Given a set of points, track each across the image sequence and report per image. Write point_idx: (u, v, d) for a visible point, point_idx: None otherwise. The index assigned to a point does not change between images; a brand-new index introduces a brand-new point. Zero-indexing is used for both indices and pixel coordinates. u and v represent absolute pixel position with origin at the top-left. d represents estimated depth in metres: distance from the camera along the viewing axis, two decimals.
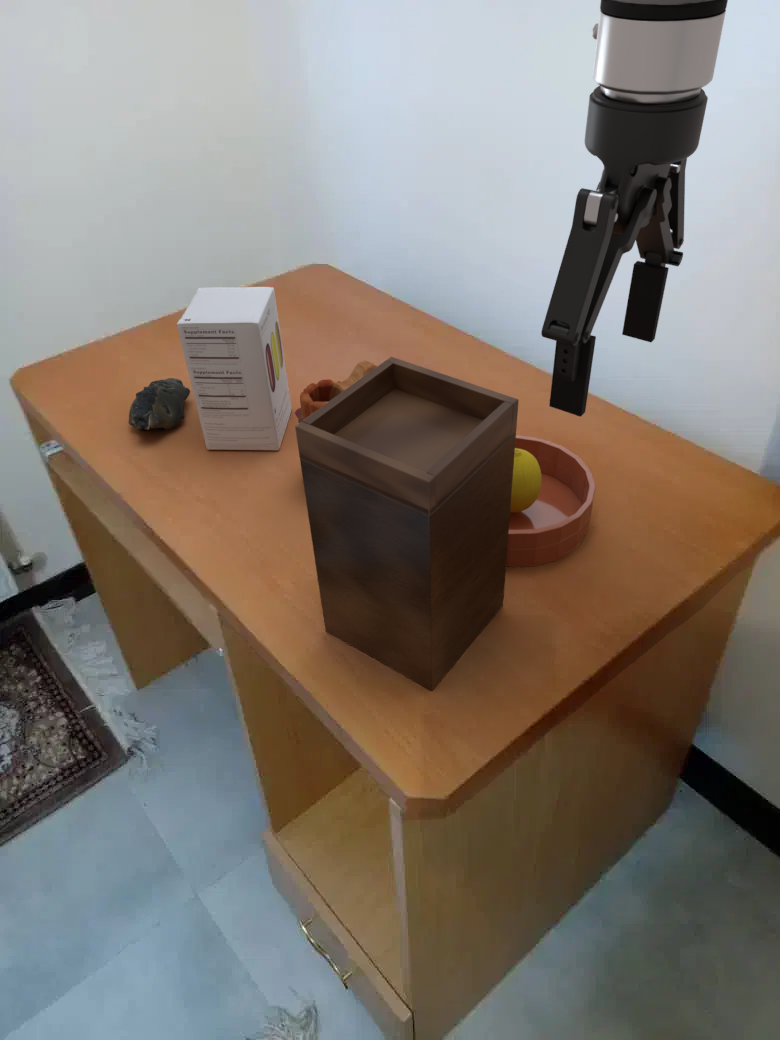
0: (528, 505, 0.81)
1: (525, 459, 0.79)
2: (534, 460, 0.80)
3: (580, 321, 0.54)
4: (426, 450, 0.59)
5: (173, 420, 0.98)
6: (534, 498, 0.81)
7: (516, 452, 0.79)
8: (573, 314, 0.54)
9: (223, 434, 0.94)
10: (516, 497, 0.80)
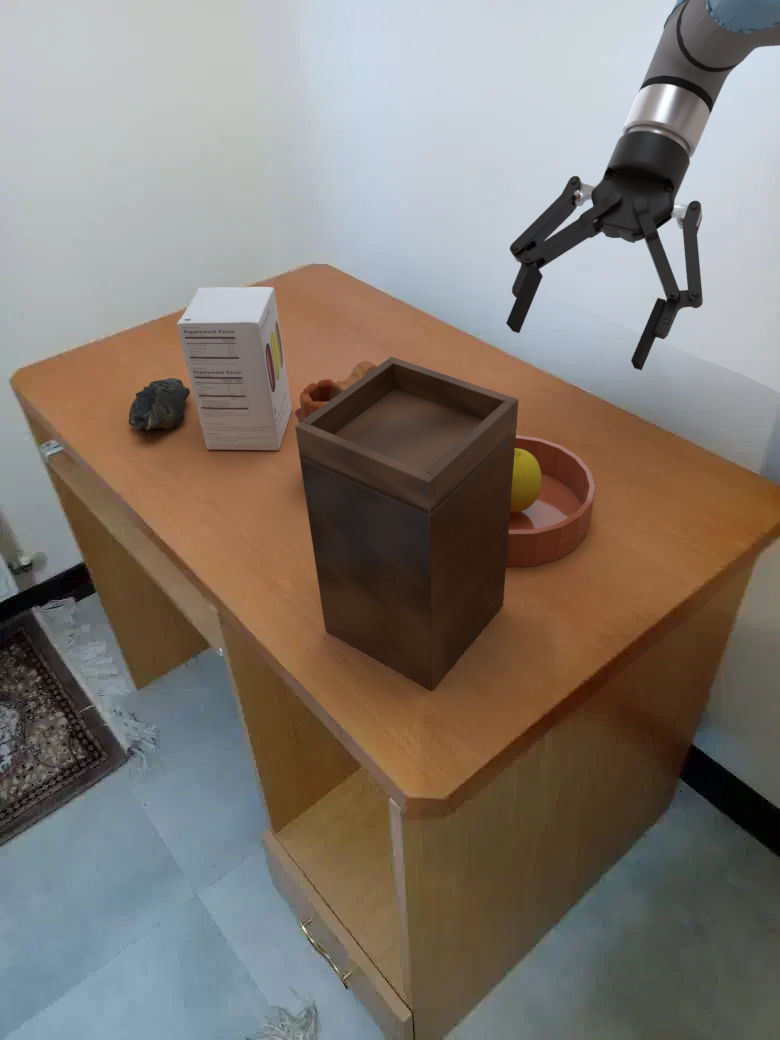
0: (528, 505, 0.81)
1: (525, 459, 0.79)
2: (534, 460, 0.80)
3: (521, 238, 0.83)
4: (426, 450, 0.59)
5: (173, 420, 0.98)
6: (534, 498, 0.81)
7: (516, 452, 0.79)
8: None
9: (223, 434, 0.94)
10: (516, 497, 0.80)
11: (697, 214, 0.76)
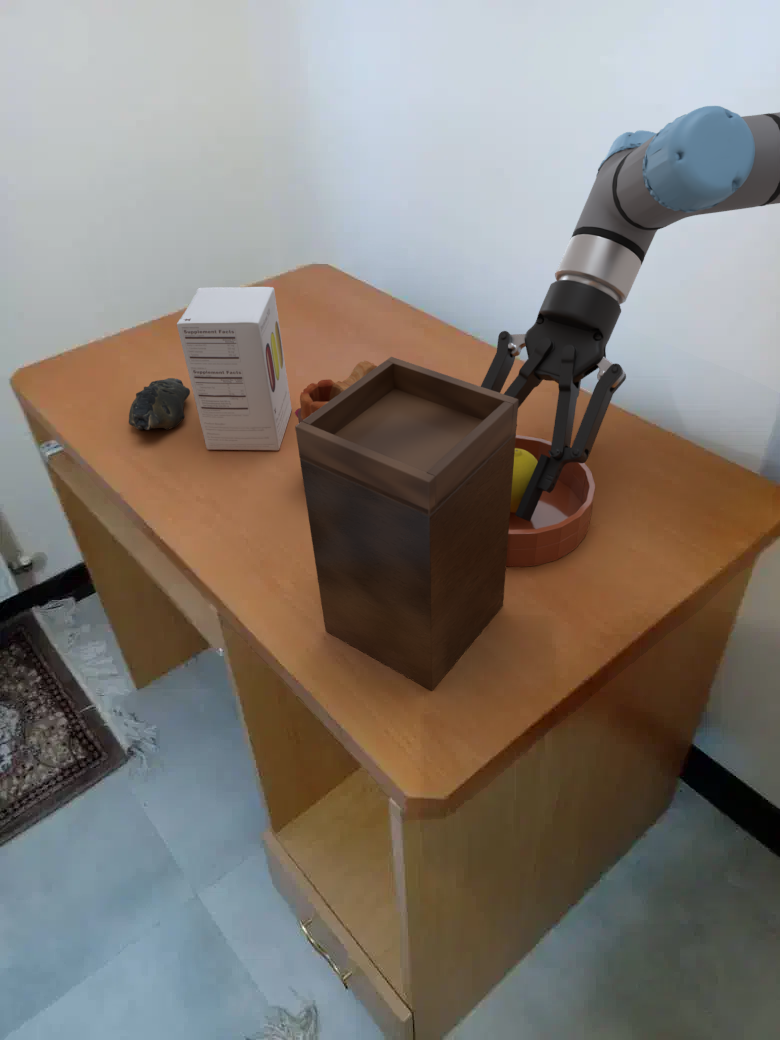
0: None
1: (525, 459, 0.79)
2: (534, 460, 0.80)
3: None
4: (426, 450, 0.59)
5: (173, 421, 0.98)
6: None
7: (516, 452, 0.79)
8: None
9: (223, 434, 0.94)
10: (516, 497, 0.80)
11: (613, 378, 0.75)
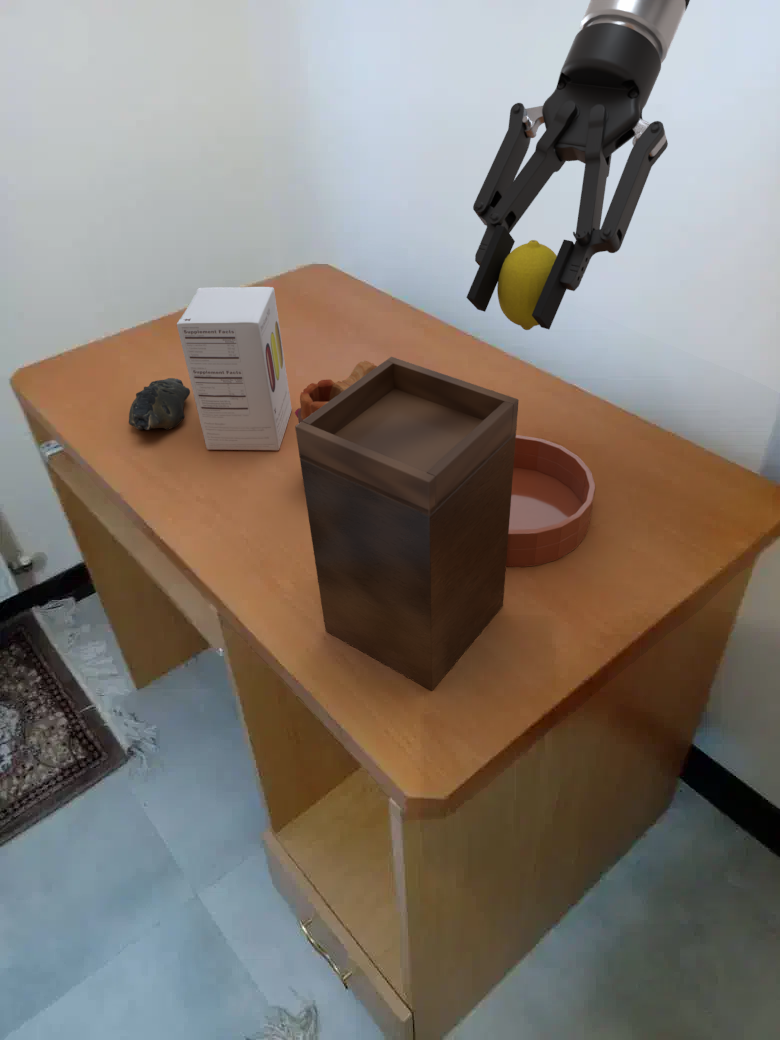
0: None
1: (544, 251, 0.65)
2: (555, 255, 0.65)
3: (482, 193, 0.67)
4: (426, 450, 0.59)
5: (173, 421, 0.98)
6: None
7: (533, 242, 0.65)
8: None
9: (223, 434, 0.94)
10: (533, 300, 0.65)
11: (653, 139, 0.61)
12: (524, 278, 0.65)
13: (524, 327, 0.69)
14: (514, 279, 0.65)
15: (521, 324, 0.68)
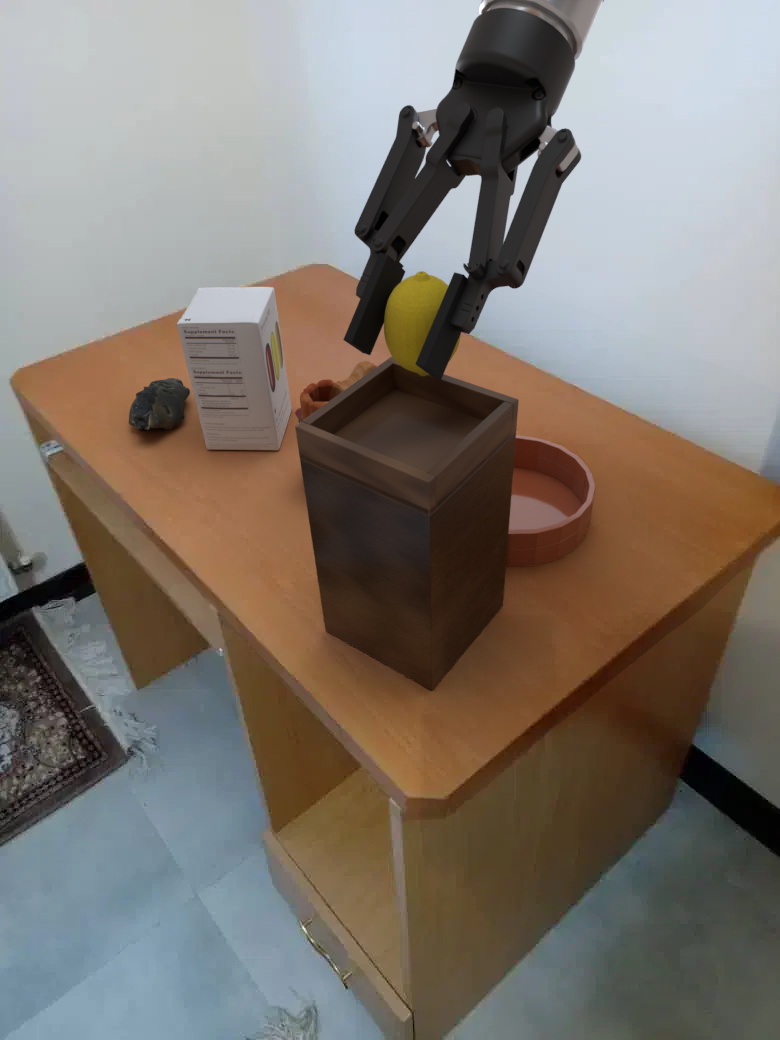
0: None
1: (433, 285, 0.53)
2: None
3: (365, 213, 0.56)
4: (426, 450, 0.59)
5: (173, 421, 0.98)
6: None
7: (420, 275, 0.53)
8: None
9: (223, 434, 0.94)
10: (422, 344, 0.54)
11: (560, 150, 0.50)
12: (409, 318, 0.53)
13: (419, 373, 0.58)
14: (398, 319, 0.54)
15: (413, 370, 0.57)
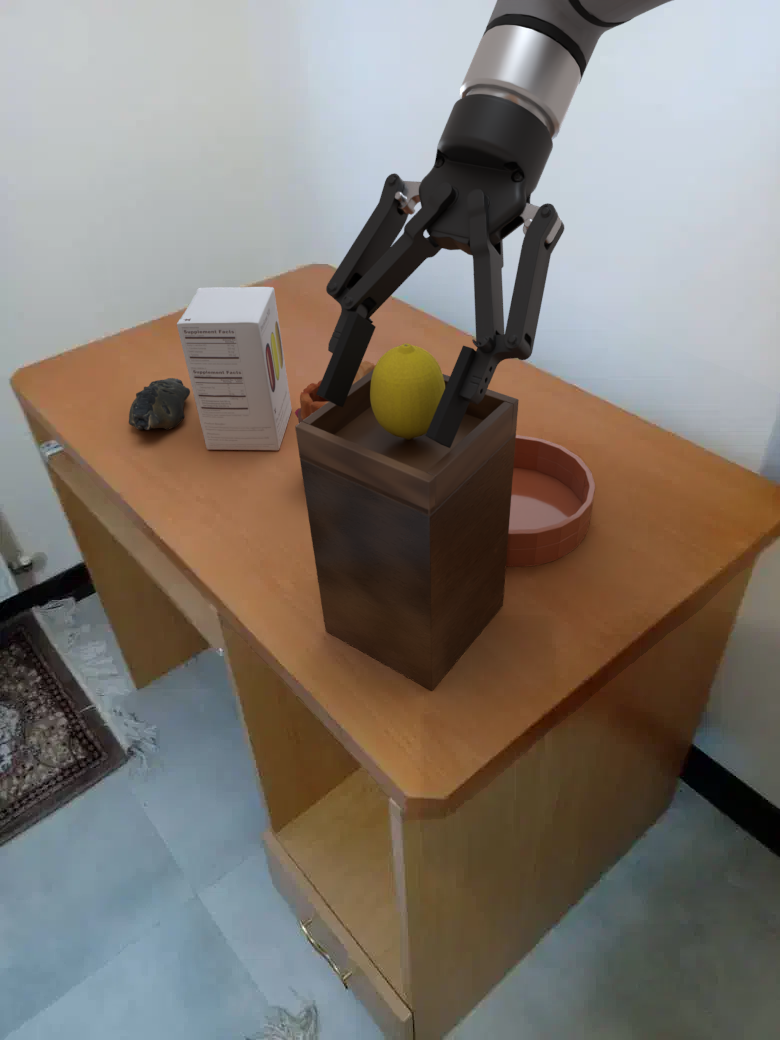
0: (426, 426, 0.57)
1: (417, 358, 0.55)
2: (432, 360, 0.56)
3: (338, 272, 0.58)
4: (426, 450, 0.59)
5: (173, 421, 0.98)
6: None
7: (405, 347, 0.55)
8: None
9: (223, 434, 0.94)
10: (407, 413, 0.56)
11: (546, 224, 0.51)
12: (394, 389, 0.55)
13: (405, 437, 0.60)
14: (384, 389, 0.55)
15: (398, 436, 0.58)
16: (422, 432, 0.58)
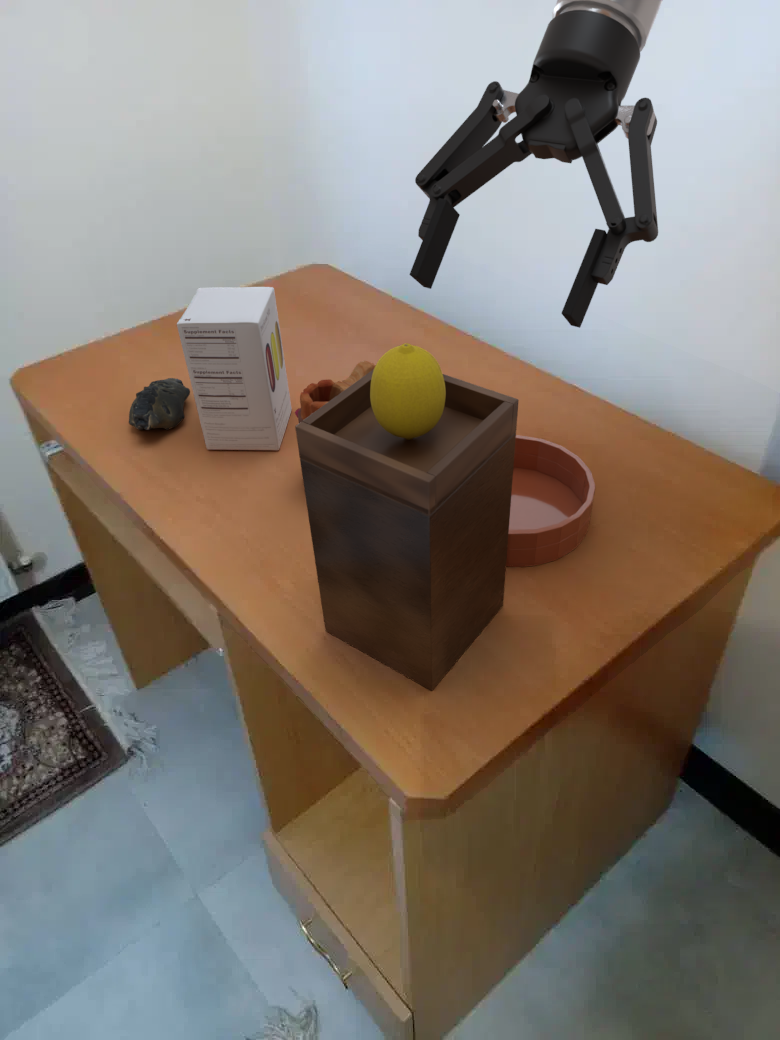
0: (426, 426, 0.57)
1: (417, 358, 0.55)
2: (432, 360, 0.56)
3: (429, 166, 0.65)
4: (426, 450, 0.59)
5: (173, 421, 0.98)
6: (434, 416, 0.57)
7: (405, 347, 0.55)
8: None
9: (223, 434, 0.94)
10: (407, 413, 0.56)
11: (647, 115, 0.57)
12: (394, 389, 0.55)
13: (405, 437, 0.60)
14: (384, 389, 0.55)
15: (398, 436, 0.58)
16: (422, 432, 0.58)
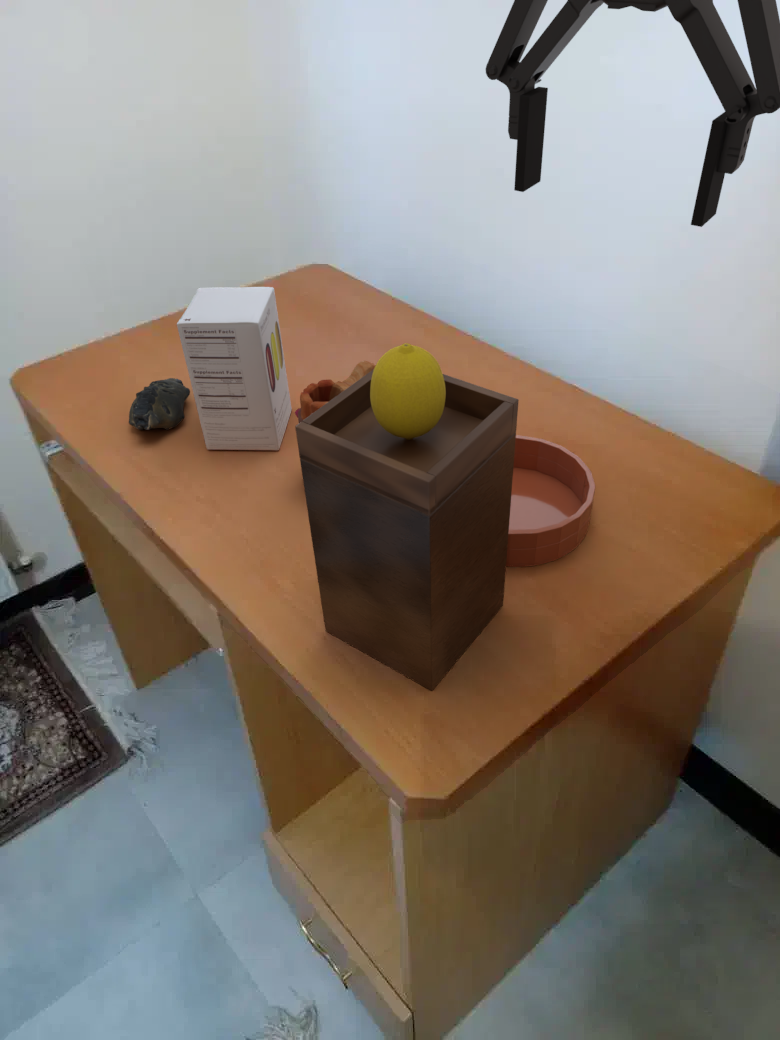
0: (426, 426, 0.57)
1: (417, 358, 0.55)
2: (432, 360, 0.56)
3: (496, 52, 0.55)
4: (426, 450, 0.59)
5: (173, 421, 0.98)
6: (434, 416, 0.57)
7: (405, 347, 0.55)
8: None
9: (223, 434, 0.94)
10: (407, 413, 0.56)
11: None
12: (394, 389, 0.55)
13: (405, 437, 0.60)
14: (384, 389, 0.55)
15: (398, 436, 0.58)
16: (422, 432, 0.58)
